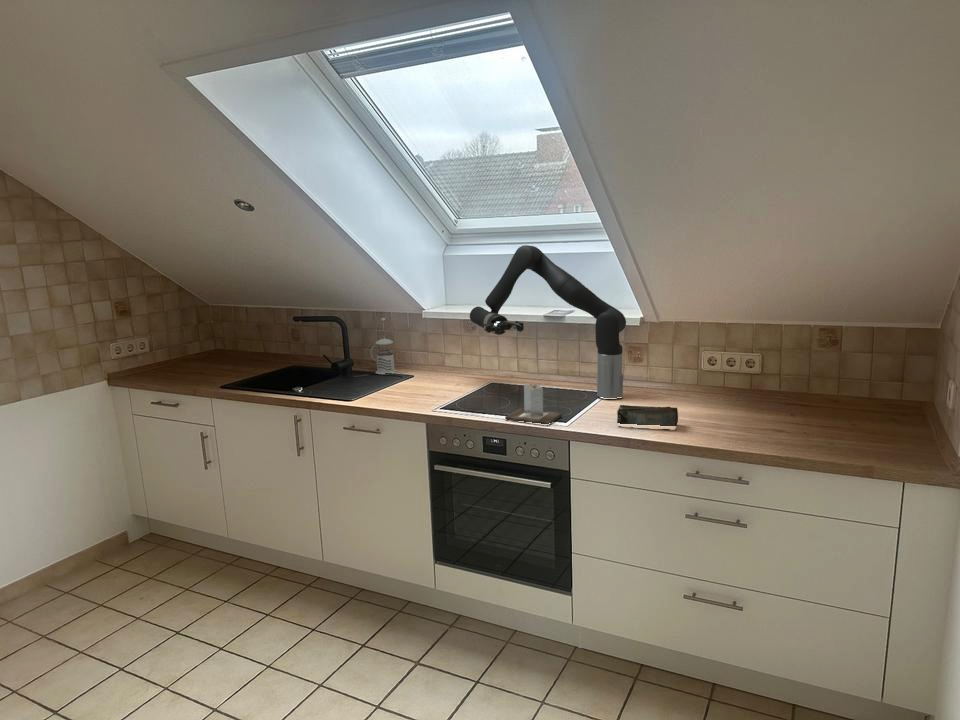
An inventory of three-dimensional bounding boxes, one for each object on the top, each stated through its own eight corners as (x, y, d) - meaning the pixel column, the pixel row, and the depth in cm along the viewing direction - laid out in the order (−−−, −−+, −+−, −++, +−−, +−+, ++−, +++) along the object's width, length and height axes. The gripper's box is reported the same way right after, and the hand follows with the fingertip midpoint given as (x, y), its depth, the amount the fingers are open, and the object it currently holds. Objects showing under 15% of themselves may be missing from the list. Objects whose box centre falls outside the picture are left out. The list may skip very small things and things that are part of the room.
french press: (392, 374, 309) (389, 319, 304) (368, 373, 311) (365, 319, 306) (399, 369, 318) (396, 316, 313) (375, 369, 321) (372, 316, 315)
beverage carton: (619, 420, 234) (619, 402, 232) (677, 425, 228) (678, 405, 226) (616, 427, 226) (616, 408, 225) (677, 432, 220) (677, 412, 219)
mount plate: (505, 420, 237) (505, 416, 237) (520, 411, 247) (520, 407, 247) (548, 426, 229) (548, 422, 229) (561, 416, 239) (561, 412, 239)
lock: (536, 411, 241) (536, 382, 239) (543, 416, 236) (542, 386, 234) (524, 413, 240) (523, 383, 238) (530, 417, 234) (530, 387, 232)
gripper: (478, 315, 263) (491, 321, 248) (512, 312, 268) (528, 318, 253) (478, 334, 265) (492, 341, 250) (513, 331, 269) (528, 338, 254)
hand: (510, 329), depth 251 cm, fingers open, 8 cm apart
